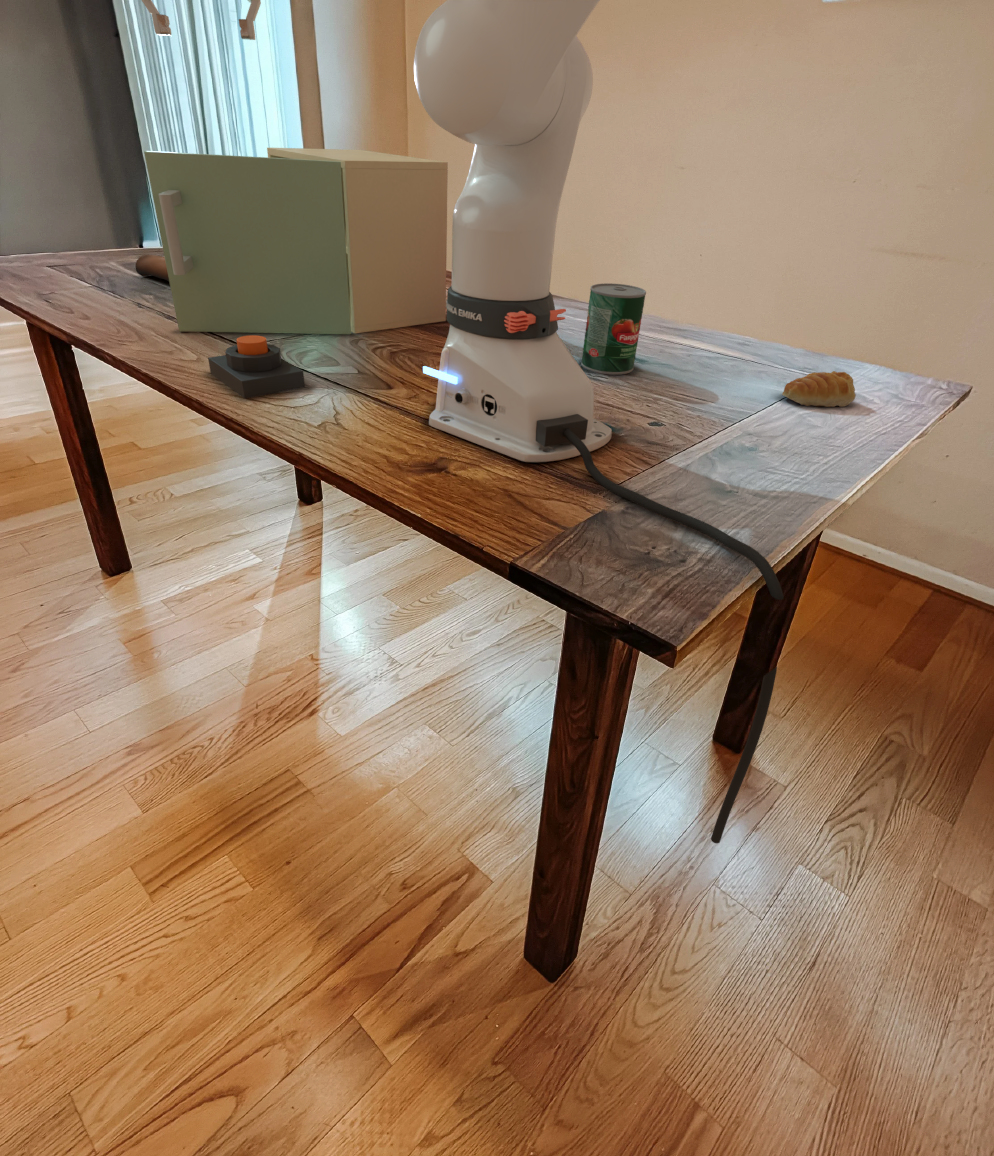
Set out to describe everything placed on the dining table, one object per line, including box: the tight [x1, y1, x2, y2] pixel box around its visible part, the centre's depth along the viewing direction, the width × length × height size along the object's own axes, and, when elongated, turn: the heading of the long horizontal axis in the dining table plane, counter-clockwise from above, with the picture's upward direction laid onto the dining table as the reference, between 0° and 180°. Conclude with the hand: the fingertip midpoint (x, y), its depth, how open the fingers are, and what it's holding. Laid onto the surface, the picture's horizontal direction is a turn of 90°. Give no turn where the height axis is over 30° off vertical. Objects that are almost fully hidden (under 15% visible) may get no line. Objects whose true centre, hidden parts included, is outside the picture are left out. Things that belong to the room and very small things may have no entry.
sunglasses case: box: [135, 254, 169, 282], centre depth 134 cm, size 18×7×7 cm
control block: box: [207, 343, 306, 399], centre depth 89 cm, size 11×8×4 cm
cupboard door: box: [143, 150, 352, 335], centre depth 100 cm, size 7×26×24 cm, turn 98°
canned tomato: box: [580, 282, 647, 376], centre depth 101 cm, size 8×8×11 cm
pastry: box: [781, 370, 857, 408], centre depth 95 cm, size 9×7×4 cm
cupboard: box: [266, 147, 449, 334], centre depth 118 cm, size 18×26×24 cm
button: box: [236, 334, 268, 355], centre depth 88 cm, size 4×4×2 cm
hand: (206, 37), depth 81 cm, fingers open, 8 cm apart
